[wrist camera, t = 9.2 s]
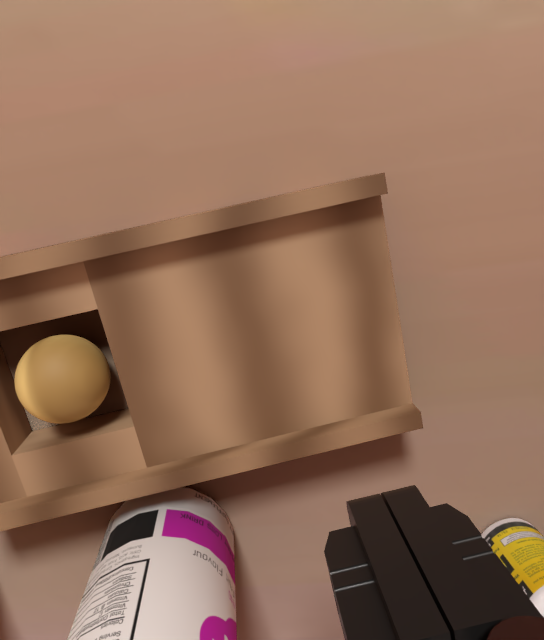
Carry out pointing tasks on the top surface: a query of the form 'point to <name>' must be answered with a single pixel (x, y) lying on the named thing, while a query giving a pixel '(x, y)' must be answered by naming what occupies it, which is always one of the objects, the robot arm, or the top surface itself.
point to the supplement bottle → (520, 555)
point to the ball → (62, 379)
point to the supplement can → (162, 573)
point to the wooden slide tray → (212, 348)
